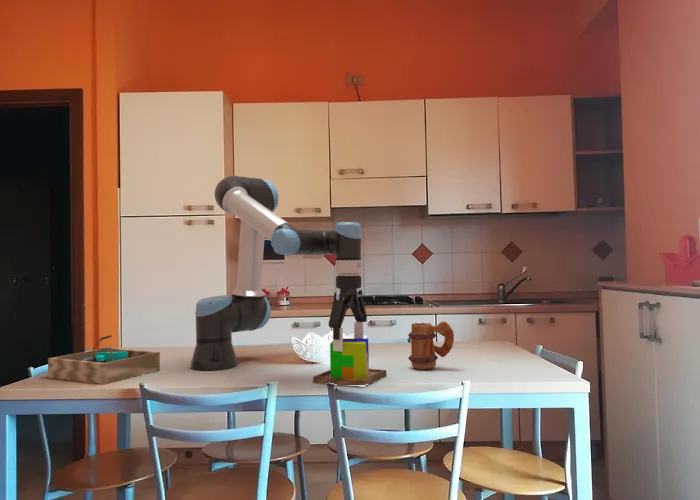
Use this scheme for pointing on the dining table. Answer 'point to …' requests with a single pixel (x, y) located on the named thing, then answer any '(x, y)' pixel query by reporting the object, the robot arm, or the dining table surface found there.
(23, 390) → the dining table surface
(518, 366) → the dining table surface
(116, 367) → the open wooden box
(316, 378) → the square wooden tray
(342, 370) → the puzzle toy
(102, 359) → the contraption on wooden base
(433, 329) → the mug
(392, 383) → the dining table surface
